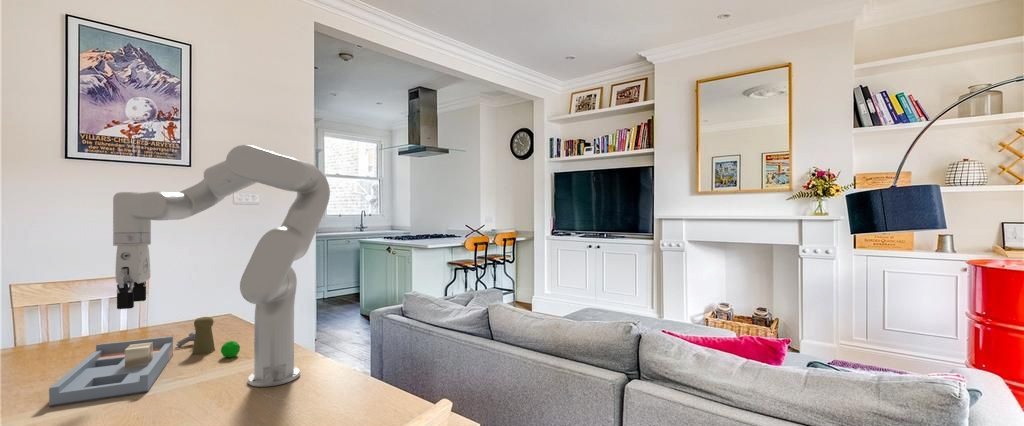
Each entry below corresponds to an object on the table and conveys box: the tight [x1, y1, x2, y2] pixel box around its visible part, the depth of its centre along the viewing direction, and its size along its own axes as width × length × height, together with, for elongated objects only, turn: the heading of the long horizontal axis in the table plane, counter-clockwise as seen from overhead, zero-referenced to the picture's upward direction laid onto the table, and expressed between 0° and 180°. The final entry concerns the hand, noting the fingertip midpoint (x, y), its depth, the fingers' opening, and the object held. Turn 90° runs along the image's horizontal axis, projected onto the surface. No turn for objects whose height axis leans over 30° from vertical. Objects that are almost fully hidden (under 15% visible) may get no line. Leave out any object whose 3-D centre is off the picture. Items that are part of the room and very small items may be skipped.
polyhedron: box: [220, 340, 241, 359], centre depth 138 cm, size 5×5×5 cm
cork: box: [192, 316, 216, 355], centre depth 143 cm, size 6×6×11 cm
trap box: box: [48, 335, 174, 408], centre depth 121 cm, size 32×18×6 cm, turn 28°
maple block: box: [125, 342, 153, 368], centre depth 123 cm, size 5×5×5 cm
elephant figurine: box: [175, 327, 196, 348], centre depth 151 cm, size 10×6×9 cm
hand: (132, 304), depth 116 cm, fingers open, 9 cm apart
